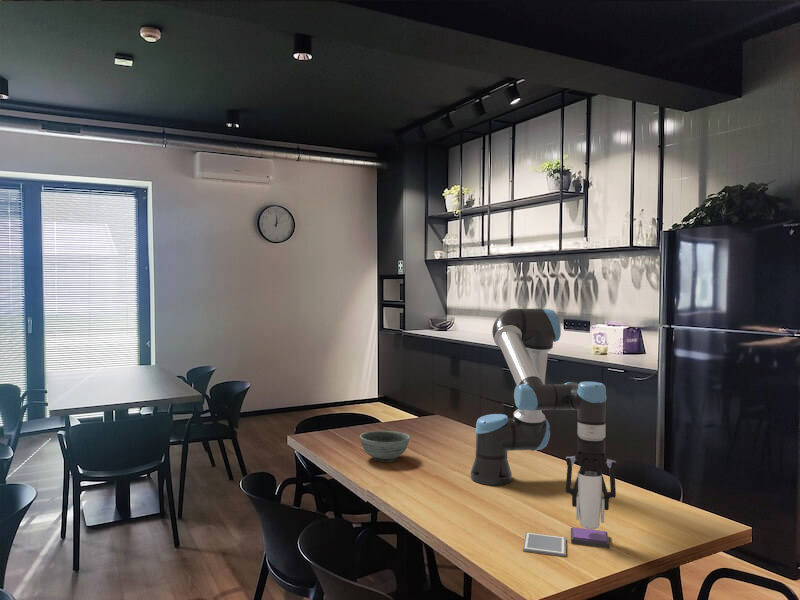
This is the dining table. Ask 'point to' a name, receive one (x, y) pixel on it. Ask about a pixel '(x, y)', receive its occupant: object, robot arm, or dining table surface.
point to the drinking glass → (589, 499)
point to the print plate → (545, 544)
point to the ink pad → (589, 537)
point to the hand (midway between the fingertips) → (589, 519)
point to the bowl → (384, 444)
